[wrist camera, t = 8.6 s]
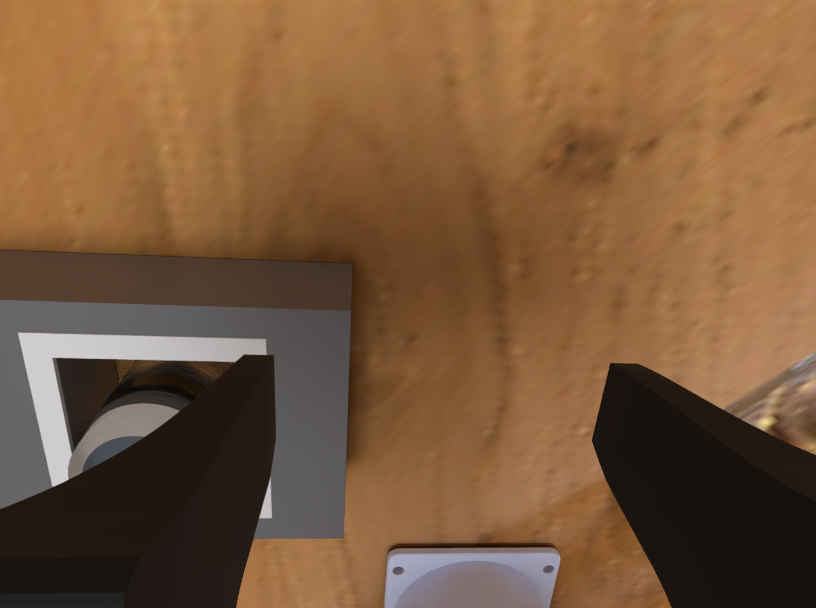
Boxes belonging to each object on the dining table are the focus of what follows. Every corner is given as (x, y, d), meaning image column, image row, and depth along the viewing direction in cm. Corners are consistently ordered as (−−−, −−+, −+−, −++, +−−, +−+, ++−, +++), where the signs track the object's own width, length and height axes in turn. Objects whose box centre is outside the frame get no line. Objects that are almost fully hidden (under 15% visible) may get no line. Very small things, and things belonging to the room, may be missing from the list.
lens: (245, 421, 24) (211, 539, 18) (138, 411, 23) (69, 529, 18) (252, 331, 22) (216, 431, 16) (136, 317, 21) (60, 416, 16)
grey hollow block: (346, 464, 25) (343, 539, 21) (45, 462, 24) (-13, 541, 20) (352, 263, 21) (351, 311, 17) (-4, 249, 20) (-86, 297, 16)
